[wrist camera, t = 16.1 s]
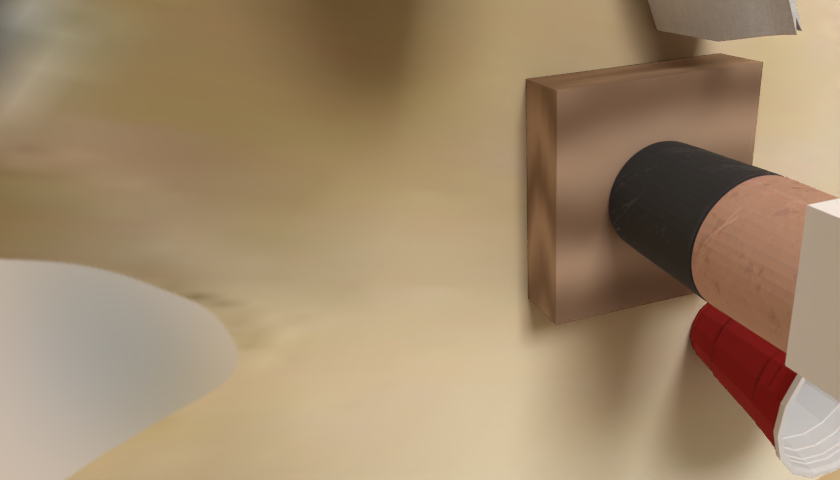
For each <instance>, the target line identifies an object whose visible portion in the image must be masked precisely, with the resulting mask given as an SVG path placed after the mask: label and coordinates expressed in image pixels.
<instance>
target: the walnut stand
mask: <svg viewBox="0 0 840 480" xmlns="http://www.w3.org/2000/svg"><path fill="white" fill-rule="evenodd" d="M762 67H763V62H759V61H754V60H750V59H745V58H740V57H735V56H730V55H725V54H721V53H720V54H712V55H704V56H697V57H689V58H682V59H674V60H667V61H659V62H651V63H644V64H636V65H629V66H621V67H614V68H606V69H599V70H591V71H583V72H576V73H568V74H561V75H553V76H546V77H538V78H530V79H526V106H527V210H528V299H529V300H530V301H531V302H532V303H534V304H535V305H536V306H537V307H538V308H539V309H540V310H541V311H542V312H543V313H544V314H545V315H546V316H547V317H548V318H549V319H550V320H551V321H553V322H554V323H555V324H560V323H565V322H569V321H574V320H578V319H582V318H587V317H591V316H596V315H600V314H604V313H609V312H613V311H618V310H622V309H626V308H631V307H635V306H640V305H644V304H648V303H653V302H657V301H661V300H666V299H670V298H675V297H679V296H683V295H688V294H692V293H694V292H693V291H691V290H690V289H689V288H687V287H686V286H684V285H683V284H682V283H680V282H679V281H678V280H676V279H675V278H673V277H672V276H671V275H669V274H668V273H666V272H665V271H664V270H662V269H661V268H660V267H658V266H657V265H655V264H654V263H653V262H651V261H650V260H649V259H647V258H646V257H644V256H643V255H642V254H640V253H639V252H638V251H636V250H635V249H634V248H632V247H631V246H630V245H628V244H627V243H626V242H625V241H623V240H622V239H621V238H620V236H619V235H618V234H617V232H616V231H615V229H614V227H613V225H612V222H611V219H610V214H609V199H610V193H611V189H612V186H613V183H614V181H615V179H616V177H617V175H618V173H619V172H620V170H621V169H622V167H623V166H624V165H625V163H626V162H627V161H628V160H629V159H630V158H631V157H632V156H633V155H634V154H636V153H637V152H638V151H640V150H641V149H643V148H645V147H647V146H649V145H651V144H654V143H657V142H661V141H678V142H682V143H686V144H689V145H692V146H696V147H699V148H702V149H705V150H708V151H711V152H714V153H717V154H719V155H722V156H725V157H728V158H731V159H734V160H737V161H740V162H743V163H746V164H749V165H752V161H753V151H754V142H755V133H756V123H757V114H758V105H759V95H760V86H761V77H762Z"/></svg>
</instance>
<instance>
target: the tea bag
mask: <svg viewBox="0 0 840 480" xmlns="http://www.w3.org/2000/svg"><path fill="white" fill-rule="evenodd" d="M648 3H649V6H650V9H651V13H652V16H653V19H654V22H655V26H656V29H657V30H658V31H664V32H669V33H675V34H680V35H685V36H691V37H696V38H702V39H707V40H713V41H718V42H719V41H727V40H736V39H744V38H753V37H761V36H773V35H797V31H796V29H797V30H800V31H802V29H801V24H800V19H799V15H798V10H797V5H796V1H795V0H648Z"/></svg>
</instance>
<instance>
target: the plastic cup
mask: <svg viewBox="0 0 840 480" xmlns="http://www.w3.org/2000/svg"><path fill="white" fill-rule="evenodd" d="M690 337H691V342H692V346H693V348H694V350H695V351H696V354H697V355H698V356H699V357H700V358H701V360H702V361H703V362H704V363H705V364H706V365H707V366H708V367H709V369H710V370H711V371H712V372H713V374H714V376H715V377H716V378H717V379H718V380H719V382H720V383H721V384H722V385H723V386H724V387H725V388H726V389H727V391H728V392H729V393H730V394H731V395H732V396H733V397H734V398H735V400H736V401H737V402H738V403H739V404H740V405H741V406H742V407H743V408H744V410H745V411H746V412H747V413H748V414H749V415H750V416H751V417H752V419H753V420H754V421H755V422H756V424H757V426H758V427H759V428H760V429H761V430H762V431H763V433H764V434H765V436H766V437H767V438H768V439H769V440H770V442H771V443H772V445H773V446H774V448H775V450H776V455H777V456H778V458H779V459H780V460H781V461H782V463H783V464H784V465H785V466H786V467H787V468H788V470H789V471H790V472H791V473H792V474H793V475H798V476H803V477H808V478H814V477H817V476H821V475H824V474H827V473H831V472H834V471H836V470H837V469H839V468H840V402H839V401H837V400H836V399H834V398H833V397H831V396H830V395H828V394H827V393H825V392H824V391H822V390H821V389H819V388H818V387H816V386H815V385H814V384H812V383H811V382H809V381H808V380H806V379H805V378H803V377H802V376H800V375H799V374H797V373H796V372H794V371H793V370H791V369H790V368H788V367H787V366H785V361H786V354H787V353H785V352H784V351H782V350H780V349H779V348H777V347H776V346H774V345H773V344H771V343H770V342H768V341H766V340H765V339H763V338H762V337H760V336H759V335H757V334H756V333H754V332H753V331H751V330H749V329H748V328H746V327H745V326H743V325H742V324H740V323H739V322H737V321H736V320H734V319H732V318H731V317H729V316H728V315H726V314H725V313H723V312H722V311H720V310H718V309H717V308H715V307H714V306H712V305H711V304H710V303H707V304H706V305H705V306H704V307H703V308H702V309H701V310H700V311H699V313H698V315H697V317H696V318H695V320H694V322H693V325H692V330H691V335H690Z"/></svg>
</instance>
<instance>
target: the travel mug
mask: <svg viewBox="0 0 840 480" xmlns="http://www.w3.org/2000/svg"><path fill="white" fill-rule="evenodd" d="M834 199H839V198H837V197H835V196H832V195H830V194H827V193H825V192H822V191H819V190H817V189H814V188H812V187H809V186H807V185H804V184H802V183H799V182H797V181H794V180H792V179H789V178H787V177H784V176H781V175H778V174H776V173H773V172H770V171H767V170H764V169H761V168H758V167H755V166H752V165H749V164H746V163H743V162H740V161H737V160H734V159H731V158H728V157H725V156H722V155H719V154H717V153H714V152H711V151H708V150H705V149H702V148H699V147H696V146H692V145H689V144H686V143H682V142H678V141H661V142H657V143H654V144H651V145H649V146H647V147H645V148H643V149H641V150H640V151H638V152H637V153H636V154H634V155H633V156H632V157H631V158H630V159H629V160H628V161H627V162H626V163H625V165H624V166H623V167H622V169H621V170H620V172H619V173H618V175H617V177H616V179H615V181H614V183H613V186H612V189H611V193H610V199H609V214H610V219H611V222H612V225H613V227H614V229H615V231H616V232H617V234H618V235H619V236H620V238H621V239H622V240H623V241H625V242H626V243H627V244H628V245H630V246H631V247H632V248H634V249H635V250H636V251H638V252H639V253H640V254H642V255H643V256H644V257H646V258H647V259H649V260H650V261H651V262H653V263H654V264H655V265H657V266H658V267H660V268H661V269H662V270H664V271H665V272H666V273H668V274H669V275H671V276H672V277H673V278H675V279H676V280H678V281H679V282H680V283H682V284H683V285H684V286H686V287H687V288H689V289H690V290H691V291H693V292H694V293H695V294H697V295H698V296H700V297H701V298H702V299H704V300H705V301H707V302H708V303H710V304H711V305H712V306H714V307H715V308H717V309H718V310H720V311H722V312H723V313H725V314H726V315H728V316H729V317H731V318H732V319H734V320H736V321H737V322H739V323H740V324H742V325H743V326H745V327H746V328H748V329H749V330H751V331H753V332H754V333H756V334H757V335H759V336H760V337H762V338H763V339H765V340H766V341H768V342H770V343H771V344H773V345H774V346H776V347H777V348H779V349H780V350H782V351H784V352H785V353H787V347H788V340H789V332H790V325H791V318H792V311H793V303H794V296H795V289H796V282H797V275H798V267H799V260H800V253H801V246H802V239H803V231H804V224H805V217H806V210H807V205H809V204H814V203H819V202H824V201H829V200H834Z"/></svg>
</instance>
